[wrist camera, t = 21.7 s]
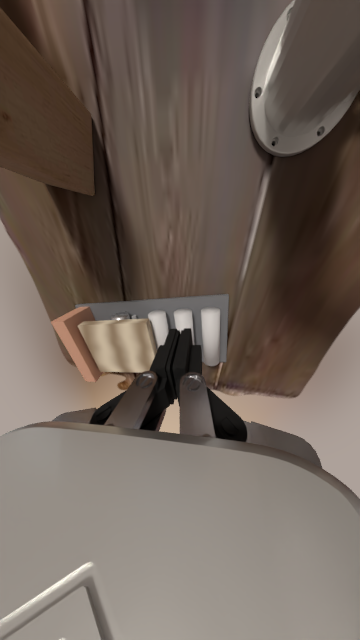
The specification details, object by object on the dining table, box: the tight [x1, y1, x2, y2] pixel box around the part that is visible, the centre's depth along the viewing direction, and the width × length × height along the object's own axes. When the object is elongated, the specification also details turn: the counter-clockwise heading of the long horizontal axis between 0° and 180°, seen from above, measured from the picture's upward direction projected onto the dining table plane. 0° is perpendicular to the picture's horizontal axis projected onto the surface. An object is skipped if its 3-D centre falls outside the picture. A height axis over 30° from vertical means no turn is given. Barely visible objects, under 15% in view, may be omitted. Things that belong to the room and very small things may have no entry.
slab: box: [78, 318, 157, 372], centre depth 35 cm, size 16×14×2 cm
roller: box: [111, 312, 130, 320], centre depth 38 cm, size 4×14×4 cm, turn 6°
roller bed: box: [51, 294, 229, 382], centre depth 35 cm, size 38×19×9 cm, turn 96°
